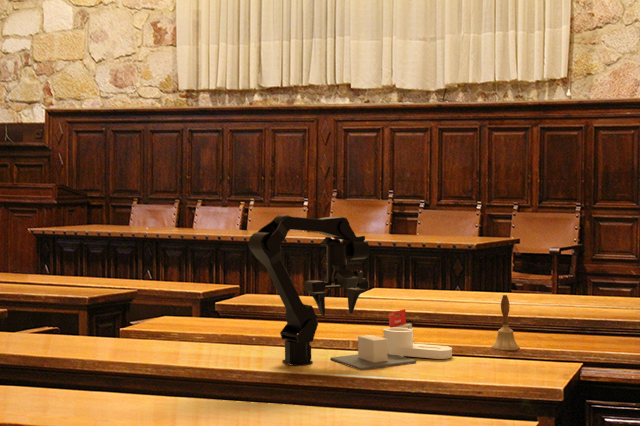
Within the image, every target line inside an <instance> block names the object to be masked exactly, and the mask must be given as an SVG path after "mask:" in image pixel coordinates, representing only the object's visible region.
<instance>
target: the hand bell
mask: <svg viewBox="0 0 640 426" xmlns="http://www.w3.org/2000/svg"><path fill="white" fill-rule="evenodd" d="M510 309H511V308H510V301H509V298H508V294H503V295H502V298H501V301H500V311H501V315H502V327H501V328H500V329H498V330H497V336H496V339H495V342H494V343H493V344H492V345H491V348H492V349H494V350H498V351H516V350H519V349H521V348H520V345H519V344H517V341H516V340H515V336H514V335H515V334H514V330H513V329H511V328H510V326H509V312H510Z"/></svg>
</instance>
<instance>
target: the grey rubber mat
mask: <svg viewBox="0 0 640 426" xmlns="http://www.w3.org/2000/svg"><path fill="white" fill-rule="evenodd" d="M330 360H331V361H334V362H336V363H338V364H342V363H343V364H342V365H344V364H346V365H345V366H347V365H349V366H348V367H350V366H352V367H351V368H353V367H354V369H356V368H357V370H359V369H360V370H359V371H364V369H365V370H371V368H373V369H380V368H387V367H386V366H388V367H394V366H395V365H396V366H402V365H401V364H403V365H409V364H408V363H411V364H416V363H417V360H415V359H412V358H408V357H406V356H400V355H390V354H387V361H381V362H371V361H368V360H364V359H361V358H358V353H356V354H349V355H341V356H334V357H332V356H331V357H330ZM379 367H380V368H379Z"/></svg>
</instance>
